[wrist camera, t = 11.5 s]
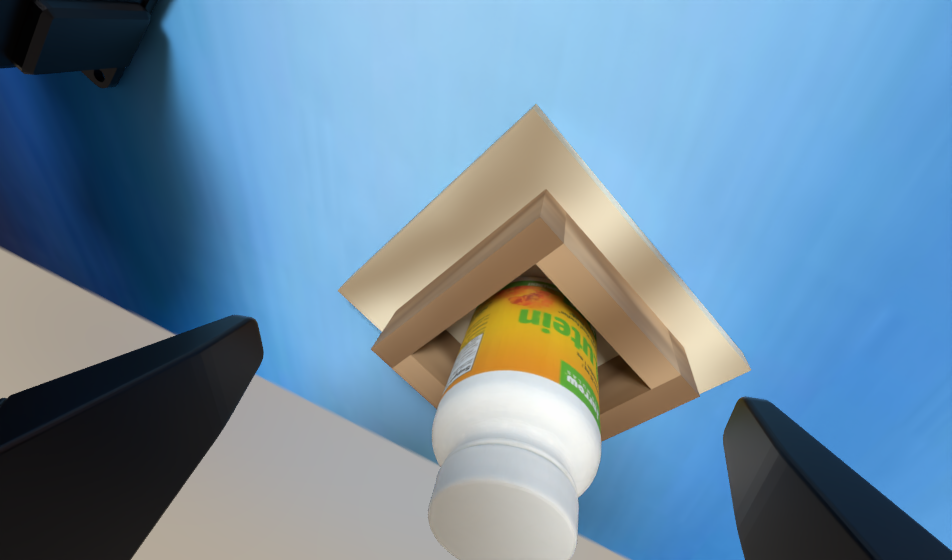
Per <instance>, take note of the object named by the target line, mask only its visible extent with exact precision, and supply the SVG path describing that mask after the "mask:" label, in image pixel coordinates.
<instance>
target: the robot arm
mask: <svg viewBox="0 0 952 560" xmlns="http://www.w3.org/2000/svg"><path fill="white" fill-rule="evenodd" d="M157 1H158V0H0V68H13V67H17V68H18V69H19V70H21V71H22V72H23V73H24V74H32V75H38V74H49V73H61V72H73V71H81V72H82V73H83V74H85V75H86V76H87V77H88V78H89V79H90V80H91V81H92V82H93V83H94V84H96V85H97V86H98V87H101V88H110V87H115V86H116V85H117V84H118V82H119V80H120V78H121V76H122V74H123V72H124V69H125V67H127V66H129V64H130V62H131V60H132V58H133V56H134V54H135V52H136V49H137V47H138V45H139V43H140V41H141V39H142V37H143V35H144V33H145V31H146V29H147V27H148V25H149V23H150V15H151V13H152V11H153V9H154V7H155V5H156V3H157ZM102 73H103V74H104V77H105V78H104V77H103V74H102ZM262 359H263V346H262V341H261V337H260V332H259V327H258V323H257V321H256V320H255V319H254V318H252V317H247V316H241V315H231V316H228V317H225V318H223V319H220V320H217V321H214V322H212V323H209V324H206V325H203V326H201V327H198V328H195V329H192V330H190V331H187V332H184V333H181V334H178V335H176V336H173V337H170V338H167V339H165V340H162V341H159V342H157V343H154V344H151V345H148V346H145V347H143V348H140V349H137V350H134V351H131V352H129V353H126V354H123V355H121V356H118V357H115V358H112V359H109V360H107V361H104V362H101V363H99V364H96V365H93V366H90V367H87V368H85V369H82V370H79V371H76V372H73V373H71V374H68V375H65V376H62V377H60V378H57V379H54V380H52V381H49V382H46V383H43V384H40V385H38V386H35V387H32V388H29V389H26V390H24V391H21V392H18V393H16V394H13V395H11V396H9V397H8V398H1V399H0V560H131V559H132V557H133V556H134V554H135V553H136V552H137V550H138V549H139V547H140V546H141V545H142V543H143V542H144V540H145V539H146V537H147V536H148V535H149V533H150V532H151V530H152V529H153V527H154V526H155V525H156V523H157V522H158V521H159V519H160V518H161V516H162V515H163V513H164V512H165V511H166V509H167V508H168V506H169V505H170V504H171V502H172V501H173V499H174V498H175V497H176V495H177V494H178V492H179V491H180V490H181V488H182V487H183V485H184V484H185V483H186V481H187V479H188V478H189V477H190V475H191V474H192V473H193V471H194V470H195V468H196V467H197V466H198V464H199V463H200V461H201V460H202V459H203V457H204V456H205V454H206V453H207V451H208V450H209V449H210V447H211V446H212V445H213V443H214V442H215V440H216V439H217V437H218V436H219V434H220V433H221V431H222V430H223V428H224V427H225V425H226V423H227V422H228V420H229V419H230V417H231V415H232V413H233V412H234V410H235V408H236V406H237V405H238V403H239V401H240V399H241V397H242V396H243V394H244V392H245V391H246V389H247V387H248V385H249V383H250V382H251V380H252V378H253V377H254V375H255V373H256V371H257V370H258V368H259V366H260V364H261V362H262ZM723 445H724V451H725V458H726V464H727V470H728V477H729V483H730V489H731V496H732V502H733V508H734V515H735V520H736V525H737V530H738V534H739V538H740V542H741V546H742V550H743V554H744V557H745V560H952V551H951V550H950V549H949V548H948V547H947V546H945V545H944V544H943V543H942V542H940V541H939V540H938V539H937V538H936V537H934V536H933V535H932V534H931V533H929V532H928V531H927V530H926V529H925V528H923V527H922V526H921V525H920V524H919V523H917V522H916V521H915V520H914V519H912V518H911V517H910V516H909V515H908V514H906V513H905V512H904V511H903V510H901V509H900V508H899V507H898V506H897V505H895V504H894V503H893V502H892V501H890V500H889V499H888V498H887V497H886V496H884V495H883V494H882V493H881V492H880V491H878V490H877V489H876V488H875V487H873V486H872V485H871V484H870V483H869V482H867V481H866V480H865V479H864V478H862V477H861V476H860V475H859V474H858V473H856V472H855V471H854V470H853V469H851V468H850V467H849V466H848V465H847V464H845V463H844V462H843V461H842V460H841V459H839V458H838V457H837V456H836V455H834V454H833V453H832V452H831V451H830V450H828V449H827V448H826V447H825V446H823V445H822V444H821V443H820V442H819V441H817V440H816V439H815V438H814V437H812V436H811V435H810V434H809V433H808V432H806V431H805V430H804V429H803V428H802V427H800V426H799V425H798V424H797V423H795V422H794V421H793V420H792V419H791V418H789V417H788V416H787V415H786V414H784V413H783V412H782V411H781V410H780V409H778V408H777V407H776V406H775V405H773V404H772V403H771V402H769V401H767V400H764V399H758V398H752V397H742V398H740V399H739V400H738V401H737V403H736V405H735V408H734V410H733V412H732V414H731V416H730V419H729V421H728V423H727V425H726V428H725V430H724V435H723Z"/></svg>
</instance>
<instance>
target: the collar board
mask: <svg viewBox="0 0 952 560" xmlns="http://www.w3.org/2000/svg"><path fill="white" fill-rule="evenodd" d="M528 276H532V277H542V278H547V279H550V280H551V281H552V282H553V283H554V284H555V285H556V286H557V287H558V289H559V290H560V291H561V292H562V293H563V294H564V295H565V296H566V297H567V298H568V299H569V301H570V302H571V303H572V304H573V305H574V306H575V307H576V308H577V309H578V310H579V311H580V312H581V314H582V315H583V316H584V317H585V318H586V319H587V320H588V321H589V322H590V323H591V324H592V325H593V327H594V328H595V329H596V338H597V366H598V386H599V408H600V425H601V442H602V441H604V440H606V439H608V438H610V437H613V436H615V435H617V434H619V433H621V432H623V431H626V430H628V429H630V428H632V427H634V426H637V425H639V424H641V423H643V422H645V421H647V420H650V419H652V418H654V417H656V416H658V415H660V414H663V413H665V412H667V411H669V410H671V409H673V408H676V407H678V406H680V405H682V404H684V403H687V402H689V401H691V400H693V399H695V398H697V397H700V395H699V394H701V393H703V392H705V391H707V390H709V389H712V388H714V387H716V386H718V385H720V384H722V383H725V382H727V381H729V380H731V379H733V378H735V377H738V376H740V375H742V374H744V373H746V372H748V371H751V369H750V367H749V365H748V363H747V360H746V358H745V356H744V354H743V353H742V351H741V350H740V349H739V348H738V347H737V345H736V344H735V343H734V342H733V341H732V339H731V338H730V337H729V336H728V335H727V333H726V332H725V331H724V330H723V328H722V327H721V326H720V325H719V324H718V322H717V321H716V320H715V319H714V318H713V316H712V315H711V314H710V313H709V312H708V310H707V309H706V308H705V307H704V306H703V304H702V303H701V302H700V301H699V300H698V298H697V297H696V296H695V295H694V294H693V292H692V291H691V290H690V289H689V288H688V286H687V285H686V284H685V283H684V281H683V280H682V279H681V278H680V277H679V275H678V274H677V273H676V272H675V271H674V269H673V268H672V267H671V266H670V265H669V263H668V262H667V261H666V260H665V259H664V257H663V256H662V255H661V254H660V253H659V251H658V250H657V249H656V248H655V247H654V245H653V244H652V243H651V242H650V240H649V239H648V238H647V237H646V236H645V234H644V233H643V232H642V231H641V230H640V228H639V227H638V226H637V225H636V224H635V222H634V221H633V220H632V219H631V218H630V216H629V215H628V214H627V213H626V212H625V210H624V209H623V208H622V207H621V206H620V204H619V203H618V202H617V201H616V199H615V198H614V197H613V196H612V195H611V193H610V192H609V191H608V190H607V189H606V187H605V186H604V185H603V184H602V183H601V181H600V180H599V179H598V178H597V177H596V175H595V174H594V173H593V172H592V171H591V169H590V168H589V167H588V166H587V165H586V163H585V162H584V161H583V160H582V158H581V157H580V156H579V155H578V154H577V152H576V151H575V150H574V149H573V148H572V146H571V145H570V144H569V143H568V142H567V140H566V139H565V138H564V137H563V136H562V134H561V133H560V132H559V131H558V130H557V128H556V127H555V126H554V125H553V124H552V122H551V121H550V120H549V119H548V118H547V116H546V115H545V114H544V113H543V111H542V110H541V109H540V108H539V107H538V105H537V104H535V105H534V106H533V107H532V108H531V109H530V110H529V111H528V112H527V113H526V114H525V115H524V116H522V117H521V118H520V119H519V120H518V121H517V122H516V123H515V124H514V125H513V126H512V127H511V128H510V129H509V130H507V131H506V132H505V133H504V134H503V135H502V136H501V137H500V138H499V139H498V140H497V141H496V142H495V143H494V144H492V145H491V146H490V147H489V148H488V149H487V150H486V151H485V152H484V153H483V154H482V155H481V156H480V157H479V158H477V159H476V160H475V161H474V162H473V163H472V164H471V165H470V166H469V167H468V168H467V169H466V170H465V171H464V172H462V173H461V174H460V175H459V176H458V177H457V178H456V179H455V180H454V181H453V182H452V183H451V184H450V185H449V186H447V187H446V188H445V189H444V190H443V191H442V192H441V193H440V194H439V195H438V196H437V197H436V198H435V199H434V200H432V201H431V202H430V203H429V204H428V205H427V206H426V207H425V208H424V209H423V210H422V211H421V212H420V213H418V214H417V215H416V216H415V217H414V218H413V219H412V220H411V221H410V222H409V223H408V224H407V225H406V226H405V227H403V228H402V229H401V230H400V231H399V232H398V233H397V234H396V235H395V236H394V237H393V238H392V239H391V240H390V241H388V242H387V243H386V244H385V245H384V246H383V247H382V248H381V249H380V250H379V251H378V252H377V253H376V254H375V255H373V256H372V257H371V258H370V259H369V260H368V261H367V262H366V263H365V264H364V265H363V266H362V267H361V268H360V269H358V270H357V271H356V272H355V273H354V274H353V275H352V276H351V277H350V278H349V279H348V280H347V281H346V282H345V283H344V284H343V285H342V286H341V287H340V289H339V290H338V291H339V292H340V293H341V294H342V295H343V296H344V297H345V298H346V299H347V300H348V301H349V302H350V303H351V304H353V305H354V306H355V307H356V308H357V309H358V310H359V311H360V312H361V313H362V314H363V315H364V316H366V317H367V318H368V319H369V320H370V321H371V322H372V323H373V324H374V325H375V326H376V327H377V328H378V329H380V330H381V331H382V333H381V335H380V336H379V338H378V339H377V341H376V342H375V344H374V345H373V347H372V348H371V350H372V351H373V352H374V353H376V354H377V355H378V356H379V357H380V358H381V359H382V360H383V361H384V362H385V363H387V364H388V365H389V366H390V367H391V368H392V369H393V370H394V371H395V372H396V373H398V374H399V375H400V376H401V377H402V378H403V379H404V380H405V381H406V382H407V383H409V384H410V385H411V386H412V387H413V388H414V389H415V390H416V391H417V392H418V393H420V394H421V395H422V396H423V397H424V398H425V399H426V400H427V401H428V402H430V403H431V404H432V405H433V406H434V407H435V408H436V409H437V408H438V405H439V402H440V400H441V397H442V395H443V392H444V390H445V387H446V384H447V382H448V379H449V377H450V374H451V371H452V369H453V366H454V363H455V361H456V358H457V355H458V353H459V350H460V347H461V345H462V342H463V340H464V337H465V334H466V332H467V329H468V326H469V324H470V321H471V318H472V316H473V314H474V311H475V309H476V307H477V306H478V305H480V304H481V303H483V302H484V301H485V300H487V299H488V298H489V297H491V296H492V295H494V294H495V293H496V292H498V291H499V290H500V289H502V288H503V287H505V286H506V285H507V284H509V283H510V282H511V281H513V280H514V279H516V278H518V277H528Z"/></svg>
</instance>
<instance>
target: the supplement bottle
mask: <svg viewBox="0 0 952 560" xmlns="http://www.w3.org/2000/svg"><path fill="white" fill-rule="evenodd" d="M432 445H433V450H434V453H435V456H436V459H437V461H438V463H439V465H440V467H441V468H440V470H439V472H438V475H437V478H436V484H435V487H434V490H433V493H432V497H431V501H430V505H429V509H428V518H429V524H430V527H431V530H432V532H433V534H434V536H435V537H436V539H437V540H438V542H439V543H440V544H441V545H442V546H443V547H444V548H445V549H446V550H447V551H448V552H449V553H451V554H452V555H453V556H455V557H456V558H458V559H459V560H570V558H571V557H572V555H573V553H574V551H575V549H576V544H577V537H578V512H579V504H578V497H579V496H581V495H582V494H583V493H584V492H585V491H586V490H587V488H588V487H589V486H590V484H591V483H592V481H593V479H594V477H595V476H596V473H597V470H598V467H599V463H600V458H601V425H600V408H599V386H598V366H597V338H596V329H595V328H594V327H593V325H592V324H591V323H590V322H589V321H588V320H587V319H586V318H585V317H584V316H583V315H582V314H581V312H580V311H579V310H578V309H577V308H576V307H575V306H574V305H573V304H572V303H571V302H570V301H569V299H568V298H567V297H566V296H565V295H564V294H563V293H562V292H561V291H560V290H559V289H558V287H557V286H556V285H555V284H554V283H553V282H552V281H551V280H550V279H547V278H542V277H532V276H528V277H518V278H516V279H514V280H513V281H511V282H510V283H509V284H507V285H506V286H505V287H503V288H502V289H500V290H499V291H498V292H496V293H495V294H494V295H492V296H491V297H489V298H488V299H487V300H485V301H484V302H483V303H481V304H480V305H478V306H477V307H476V309H475V311H474V314H473V316H472V318H471V321H470V324H469V326H468V329H467V332H466V334H465V337H464V340H463V342H462V345H461V347H460V350H459V353H458V355H457V358H456V361H455V363H454V366H453V369H452V371H451V374H450V377H449V379H448V382H447V384H446V387H445V390H444V392H443V395H442V397H441V400H440V402H439V405H438V408H437V411H436V415H435V418H434V421H433V427H432Z"/></svg>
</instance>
